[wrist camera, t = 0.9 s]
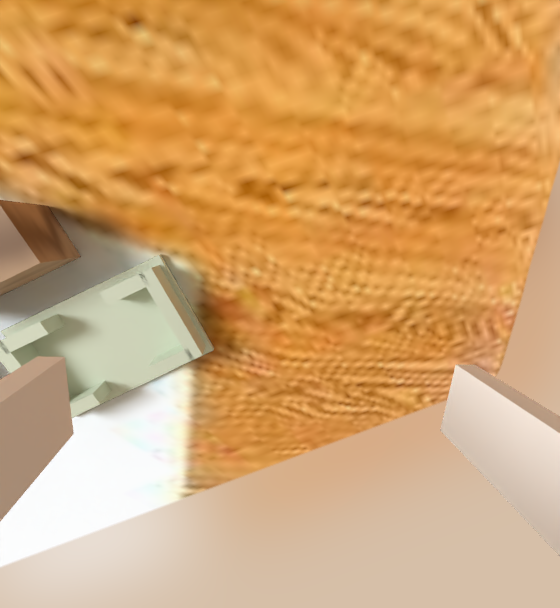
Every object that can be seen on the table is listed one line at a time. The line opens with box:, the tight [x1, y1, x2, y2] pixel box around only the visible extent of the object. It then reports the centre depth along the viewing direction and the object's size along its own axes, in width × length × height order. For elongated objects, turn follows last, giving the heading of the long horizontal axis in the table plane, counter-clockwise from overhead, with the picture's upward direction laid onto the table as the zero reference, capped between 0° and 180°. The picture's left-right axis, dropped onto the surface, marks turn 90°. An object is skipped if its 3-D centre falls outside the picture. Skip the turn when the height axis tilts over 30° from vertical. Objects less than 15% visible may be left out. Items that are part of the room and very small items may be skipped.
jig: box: [0, 255, 214, 418], centre depth 34 cm, size 13×20×4 cm, turn 115°
